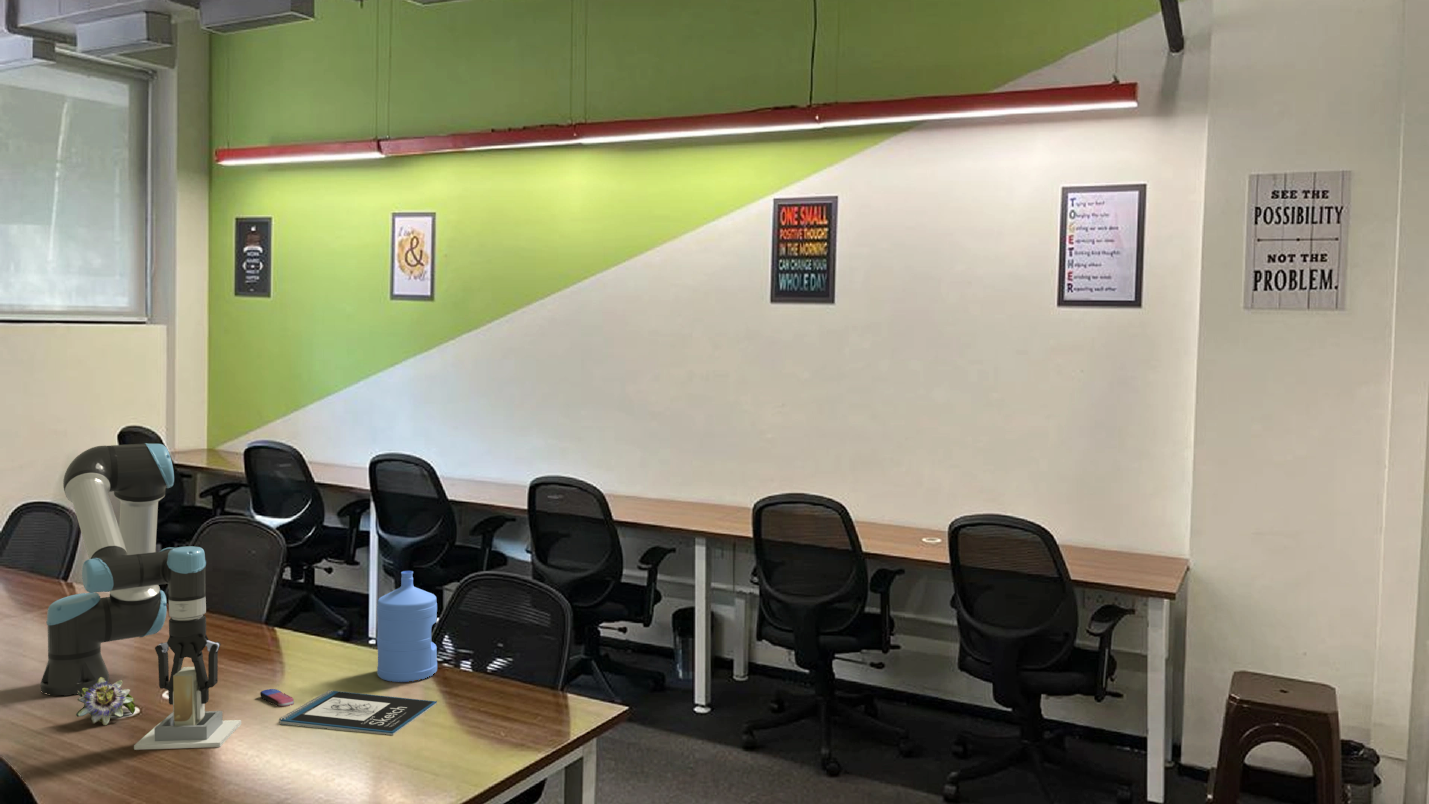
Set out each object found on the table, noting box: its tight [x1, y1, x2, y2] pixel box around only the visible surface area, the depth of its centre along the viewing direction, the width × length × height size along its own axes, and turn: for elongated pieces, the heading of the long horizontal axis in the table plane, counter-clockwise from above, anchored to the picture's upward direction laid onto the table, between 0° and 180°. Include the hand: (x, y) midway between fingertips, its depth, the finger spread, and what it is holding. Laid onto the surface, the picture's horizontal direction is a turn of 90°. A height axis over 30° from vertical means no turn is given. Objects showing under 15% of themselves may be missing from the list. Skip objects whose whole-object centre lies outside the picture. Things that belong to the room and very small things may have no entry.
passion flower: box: [75, 677, 136, 726], centre depth 248 cm, size 11×11×12 cm
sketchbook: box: [278, 689, 438, 736], centre depth 254 cm, size 22×30×2 cm
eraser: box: [259, 688, 295, 708], centre depth 262 cm, size 11×4×2 cm, turn 50°
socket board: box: [133, 710, 242, 751], centre depth 238 cm, size 18×14×4 cm
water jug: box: [376, 570, 438, 683], centre depth 283 cm, size 16×16×28 cm
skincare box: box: [173, 666, 204, 726], centre depth 237 cm, size 6×4×12 cm
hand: (189, 717), depth 238 cm, fingers closed on skincare box, 4 cm apart
